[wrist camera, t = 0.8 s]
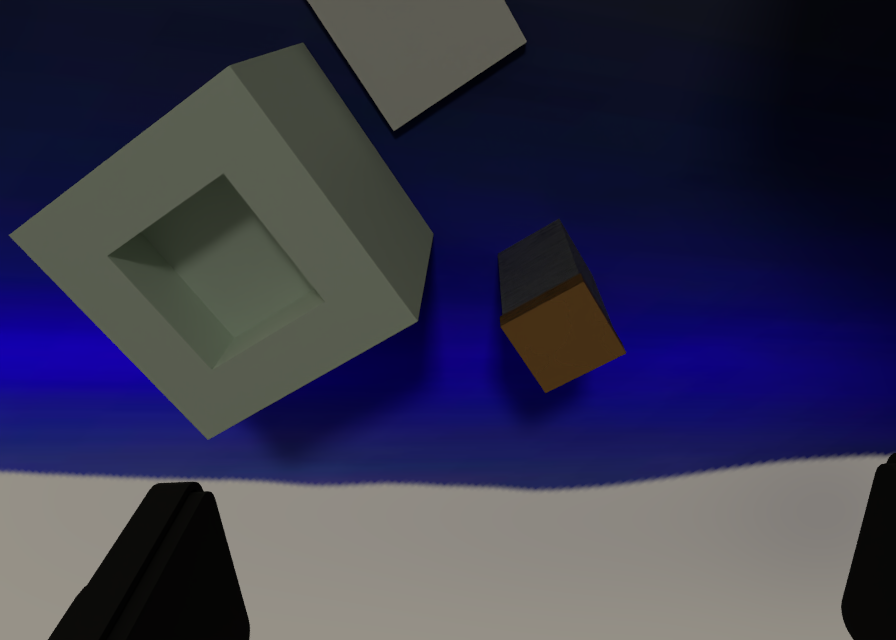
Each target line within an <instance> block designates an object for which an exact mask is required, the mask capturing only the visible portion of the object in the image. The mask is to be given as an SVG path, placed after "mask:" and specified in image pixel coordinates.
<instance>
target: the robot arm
mask: <svg viewBox="0 0 896 640" xmlns="http://www.w3.org/2000/svg"><path fill="white" fill-rule="evenodd" d="M841 609H842V616H843V620H844V623H845V626H846V628H847V630H848V632H849V633H850V635H851V637H852V638H853V639H854V640H896V453H893V454H892V455H891V456H890V457H889V458H888V461H887V463H885V464H881V465H880V466H879V467H878V468H877V470H876V472H875V476H874V480H873V484H872V488H871V492H870V495H869V499H868V503H867V507H866V511H865V515H864V518H863V522H862V526H861V530H860V534H859V538H858V541H857V545H856V549H855V553H854V557H853V561H852V564H851V568H850V572H849V576H848V579H847V583H846V587H845V591H844V595H843V599H842V605H841ZM249 636H250V624H249V620H248V615H247V612H246V608H245V605H244V601H243V598H242V594H241V591H240V587H239V583H238V579H237V576H236V572H235V569H234V565H233V561H232V558H231V555H230V551H229V547H228V543H227V540H226V536H225V532H224V529H223V525H222V522H221V518H220V514H219V511H218V507H217V504H216V500H215V497H214V495H213V494H212V492H208V491H206V492H204V491H203V489H202V487H201V485H200V484H199V483H197V482H176V483H158V484H156V485H154V486H153V487H152V488H151V489H150V490H149V492H148V493H147V495H146V497H145V498H144V499H143V501H142V502H141V504H140V505H139V507H138V509H137V510H136V511H135V513H134V515H133V516H132V517H131V519H130V521H129V522H128V524H127V525H126V527H125V528H124V530H123V531H122V533H121V534H120V536H119V537H118V539H117V540H116V542H115V543H114V545H113V547H112V548H111V549H110V551H109V553H108V554H107V556H106V557H105V559H104V560H103V562H102V563H101V565H100V566H99V568H98V569H97V571H96V572H95V574H94V575H93V577H92V578H91V580H90V582H89V583H88V585H87V586H85V587H84V588H83V589H82V591H81V592H80V593H79V594H78V595H77V597H76V598H75V599H74V601H73V602H72V604H71V606H70V607H69V608H68V610H67V611H66V613H65V615H64V616H63V618H62V619H61V621H60V622H59V624H58V625H57V627H56V628H55V630H54V631H53V633H52V634H51V636H50V637H49V639H48V640H249Z"/></svg>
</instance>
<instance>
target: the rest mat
mask: <svg viewBox="0 0 896 640" xmlns="http://www.w3.org/2000/svg"><path fill="white" fill-rule="evenodd" d="M307 1H308V2H309V4H310V5H311V7H312V8H313V10H314V11H315V13H316V14H317V16H318V17H319V19H320V20H321V22H322V23H323V25H324V26H325V28H326V29H327V31H328V32H329V34H330V35H331V37H332V39H333V40H334V42H335V43H336V45H337V46H338V48H339V49H340V51H341V52H342V54H343V55H344V57H345V58H346V60H347V61H348V63H349V64H350V66H351V67H352V69H353V70H354V72H355V73H356V75H357V76H358V78H359V79H360V81H361V82H362V84H363V85H364V87H365V88H366V90H367V91H368V93H369V94H370V96H371V97H372V99H373V101H374V102H375V104H376V105H377V107H378V108H379V110H380V111H381V113H382V114H383V116H384V117H385V119H386V120H387V122H388V123H389V125H390V126H391V128H392V129H393V131H395V130H396V129H398V128H399V127H401V126H402V125H404V124H405V123H407V122H408V121H410V120H411V119H413V118H414V117H416V116H417V115H419V114H420V113H421V112H423V111H424V110H426V109H427V108H429V107H430V106H432V105H433V104H435V103H436V102H438V101H439V100H441V99H442V98H444V97H445V96H447V95H448V94H450V93H451V92H453V91H454V90H456V89H457V88H459V87H460V86H462V85H463V84H465V83H466V82H468V81H469V80H471V79H472V78H474V77H475V76H477V75H478V74H480V73H481V72H483V71H484V70H486V69H487V68H489V67H490V66H492V65H493V64H495V63H496V62H498V61H499V60H501V59H502V58H504V57H505V56H507V55H508V54H510V53H511V52H513V51H514V50H516V49H517V48H519V47H520V46H521V45H523V44H524V43H526V42H527V41H526V39H525V38H524V36H523V34H522V32H521V30H520V28H519V27H518V25H517V23H516V21H515V19H514V17H513V16H512V14H511V12H510V10H509V8H508V6H507V5H506V3H505V1H504V0H307Z"/></svg>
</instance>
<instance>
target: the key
mask: <svg viewBox="0 0 896 640" xmlns="http://www.w3.org/2000/svg"><path fill="white" fill-rule="evenodd" d="M498 262H499V275H500V288H501V301H502V314H503V315H502V316H500V327H501V328H502V330H503V331H504V333H505V334H506V335H507V337H508V338H509V340H510V341H511V343H512V344H513V346H514V347H515V349H516V350H517V352H518V353H519V355H520V356H521V358H522V359H523V361H524V362H525V363H526V365H527V366H528V368H529V369H530V371H531V372H532V374H533V375H534V377H535V378H536V380H537V381H538V383H539V384H540V386H541V387H542V389H543V390H544V392H545V393H547V392H549V391H551V390H553V389H555V388H557V387H559V386H561V385H563V384H565V383H567V382H569V381H571V380H573V379H575V378H577V377H579V376H581V375H583V374H585V373H587V372H589V371H591V370H593V369H595V368H597V367H599V366H601V365H603V364H606V363H608V362H610V361H612V360H614V359H616V358H618V357H620V356H622V355H624V354H626V351H625V349H624V346H623V344H622V342H621V340H620V339H619V337H618V335H617V334H616V332H615V330H614V328H613V326H612V323H611V321H610V318H609V316H608V313H607V311H606V308H605V306H604V303H603V301H602V298H601V296H600V293H599V291H598V288H597V286H596V283H595V281H594V278H593V276H592V274H591V272H590V270H589V268H588V267H587V265H586V263H585V262H584V260H583V258H582V257H581V255H580V253H579V251H578V250H577V248H576V246H575V245H574V243H573V241H572V240H571V238H570V236H569V234H568V233H567V231H566V229H565V228H564V226H563V224H562V223H561V221H560V219H557V220H556V221H554V222H552V223H550V224H549V225H547V226H545V227H543V228H542V229H540V230H538V231H536V232H535V233H533V234H531V235H530V236H528V237H526V238H524V239H523V240H521V241H519V242H517V243H516V244H514V245H512V246H510V247H509V248H507V249H505V250H503V251H502V252H500V253H498Z"/></svg>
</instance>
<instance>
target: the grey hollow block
mask: <svg viewBox="0 0 896 640" xmlns="http://www.w3.org/2000/svg"><path fill="white" fill-rule="evenodd" d="M9 236H10V237H11V238H12V239H13V240H14V241H15V242H16V243H17V244H18V245H19V246H20V247H21V248H22V249H23V250H24V251H25V252H26V253H27V254H28V255H29V256H30V258H31V259H32V260H33V261H34V262H35V263H36V264H37V265H38V266H39V267H40V268H41V269H42V270H43V271H44V272H45V273H46V274H47V275H48V276H49V277H50V278H51V279H52V280H53V281H54V282H55V283H56V284H57V285H58V286H59V287H60V288H61V289H62V290H63V291H64V292H65V293H66V294H67V295H68V297H69V298H70V299H71V300H72V301H73V302H74V303H75V304H76V305H77V306H78V307H79V308H80V309H81V310H82V311H83V312H84V313H85V314H86V315H87V316H88V317H89V318H90V319H91V320H92V321H93V322H94V323H95V324H96V325H97V326H98V327H99V328H100V329H101V330H102V331H103V332H104V333H105V335H106V336H107V337H108V338H109V339H110V340H111V341H112V342H113V343H114V344H115V345H116V346H117V347H118V348H119V349H120V350H121V351H122V352H123V353H124V354H125V355H126V356H127V357H128V358H129V359H130V360H131V361H132V362H133V363H134V364H135V365H136V366H137V367H138V368H139V369H140V370H141V371H142V372H143V374H144V375H145V376H146V377H147V378H148V379H149V380H150V381H151V382H152V383H153V384H154V385H155V386H156V387H157V388H158V389H159V390H160V391H161V392H162V393H163V394H164V395H165V396H166V397H167V398H168V399H169V400H170V401H171V402H172V403H173V404H174V405H175V406H176V407H177V408H178V409H179V410H180V412H181V413H182V414H183V415H184V416H185V417H186V418H187V419H188V420H189V421H190V422H191V423H192V424H193V425H194V426H195V427H196V428H197V429H198V430H199V431H200V432H201V433H202V434H203V435H204V436H205V437H206V438H207V439H210V438H212V437H214V436H215V435H217V434H219V433H221V432H223V431H224V430H226V429H228V428H230V427H231V426H233V425H235V424H237V423H238V422H240V421H242V420H244V419H246V418H247V417H249V416H251V415H253V414H254V413H256V412H258V411H260V410H262V409H263V408H265V407H267V406H269V405H270V404H272V403H274V402H276V401H277V400H279V399H281V398H283V397H285V396H286V395H288V394H290V393H292V392H293V391H295V390H297V389H299V388H300V387H302V386H304V385H306V384H308V383H309V382H311V381H313V380H315V379H316V378H318V377H320V376H322V375H324V374H325V373H327V372H329V371H331V370H332V369H334V368H336V367H338V366H339V365H341V364H343V363H345V362H347V361H348V360H350V359H352V358H354V357H355V356H357V355H359V354H361V353H363V352H364V351H366V350H368V349H370V348H371V347H373V346H375V345H377V344H378V343H380V342H382V341H384V340H386V339H387V338H389V337H391V336H393V335H394V334H396V333H398V332H400V331H401V330H403V329H405V328H407V327H409V326H410V325H412V324H414V323H416V322H417V321H418V317H419V311H420V306H421V300H422V295H423V289H424V284H425V278H426V272H427V267H428V261H429V256H430V250H431V244H432V239H433V233H432V231H431V230H430V228H429V227H428V225H427V224H426V222H425V221H424V219H423V218H422V216H421V215H420V213H419V212H418V211H417V209H416V208H415V206H414V205H413V203H412V202H411V200H410V199H409V197H408V196H407V194H406V193H405V191H404V190H403V189H402V187H401V186H400V184H399V183H398V181H397V180H396V178H395V177H394V175H393V174H392V172H391V171H390V169H389V168H388V166H387V165H386V164H385V162H384V161H383V159H382V158H381V156H380V155H379V153H378V152H377V150H376V149H375V147H374V146H373V144H372V143H371V142H370V140H369V139H368V137H367V136H366V134H365V133H364V131H363V130H362V128H361V127H360V125H359V124H358V122H357V121H356V120H355V118H354V117H353V115H352V114H351V112H350V111H349V109H348V108H347V106H346V105H345V103H344V102H343V100H342V99H341V97H340V96H339V95H338V93H337V92H336V90H335V89H334V87H333V86H332V84H331V83H330V81H329V80H328V78H327V77H326V75H325V74H324V73H323V71H322V70H321V68H320V67H319V65H318V64H317V62H316V61H315V59H314V58H313V56H312V55H311V53H310V52H309V50H308V49H307V48H306V46H305V45H304V43H300V44H297V45H294V46H291V47H287V48H284V49H281V50H278V51H275V52H271V53H268V54H265V55H262V56H259V57H255V58H252V59H249V60H246V61H243V62H239V63H236V64H233V65H230V66H228V67H227V68H226V69H224V70H223V71H222V72H220V73H219V74H218V75H217V76H215V77H214V78H213V79H211V80H210V81H209V82H207V83H206V84H205V85H204V86H202V87H201V88H200V89H198V90H197V91H196V92H194V93H193V94H192V95H191V96H189V97H188V98H187V99H185V100H184V101H183V102H181V103H180V104H179V105H178V106H176V107H175V108H174V109H172V110H171V111H170V112H168V113H167V114H166V115H165V116H163V117H162V118H161V119H159V120H158V121H157V122H156V123H154V124H153V125H152V126H150V127H149V128H148V129H146V130H145V131H144V132H143V133H141V134H140V135H139V136H137V137H136V138H135V139H133V140H132V141H131V142H130V143H128V144H127V145H126V146H124V147H123V148H122V149H120V150H119V151H118V152H117V153H115V154H114V155H113V156H111V157H110V158H109V159H107V160H106V161H105V162H104V163H102V164H101V165H100V166H98V167H97V168H96V169H94V170H93V171H92V172H91V173H89V174H88V175H87V176H85V177H84V178H83V179H81V180H80V181H79V182H78V183H76V184H75V185H74V186H72V187H71V188H70V189H68V190H67V191H66V192H65V193H63V194H62V195H61V196H59V197H58V198H57V199H55V200H54V201H53V202H52V203H50V204H49V205H48V206H46V207H45V208H44V209H42V210H41V211H40V212H39V213H37V214H36V215H35V216H33V217H32V218H31V219H29V220H28V221H27V222H26V223H24V224H23V225H22V226H20V227H19V228H18V229H16V230H15V231H14V232H13V233H11V234H10V235H9Z"/></svg>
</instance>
